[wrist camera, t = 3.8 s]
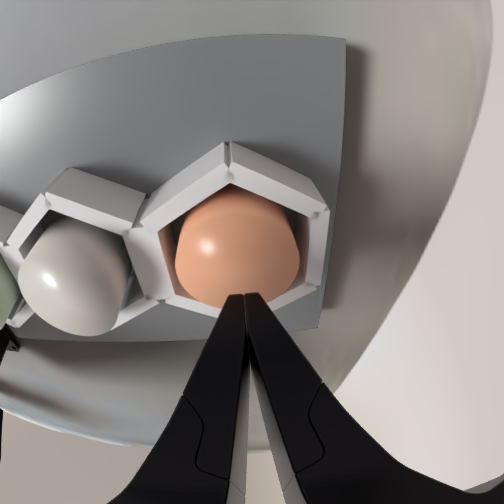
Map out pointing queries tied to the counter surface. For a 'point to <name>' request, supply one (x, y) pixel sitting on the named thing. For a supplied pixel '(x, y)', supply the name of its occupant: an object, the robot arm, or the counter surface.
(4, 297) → the sage button
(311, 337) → the counter surface
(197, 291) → the terracotta button
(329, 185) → the button panel
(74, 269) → the grey button
